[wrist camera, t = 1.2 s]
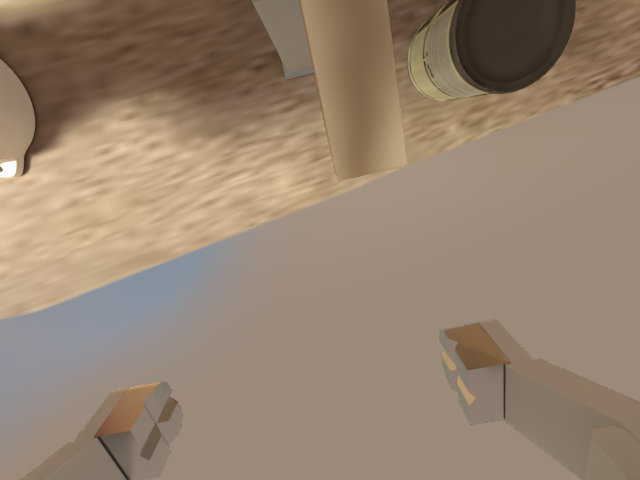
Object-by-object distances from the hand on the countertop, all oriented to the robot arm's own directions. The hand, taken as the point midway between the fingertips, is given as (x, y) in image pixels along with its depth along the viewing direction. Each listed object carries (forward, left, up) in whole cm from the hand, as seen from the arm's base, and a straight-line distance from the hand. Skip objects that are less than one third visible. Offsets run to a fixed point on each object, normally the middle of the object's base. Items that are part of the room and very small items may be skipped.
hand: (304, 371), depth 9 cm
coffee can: (+20, +10, -38) cm, 44 cm away
